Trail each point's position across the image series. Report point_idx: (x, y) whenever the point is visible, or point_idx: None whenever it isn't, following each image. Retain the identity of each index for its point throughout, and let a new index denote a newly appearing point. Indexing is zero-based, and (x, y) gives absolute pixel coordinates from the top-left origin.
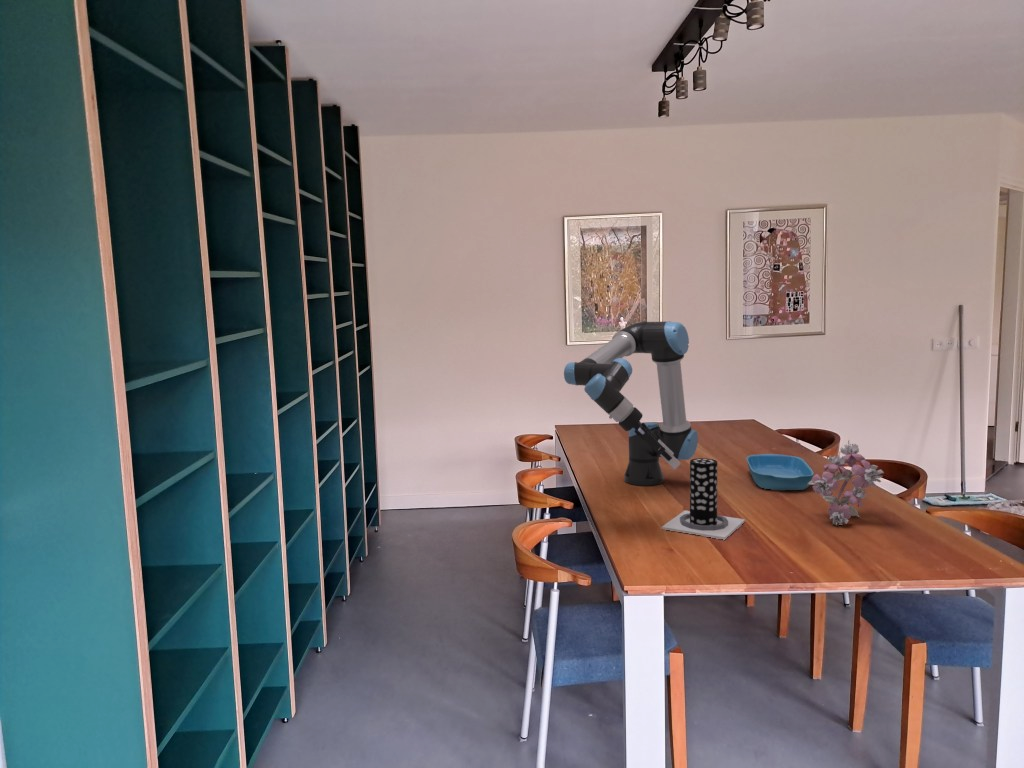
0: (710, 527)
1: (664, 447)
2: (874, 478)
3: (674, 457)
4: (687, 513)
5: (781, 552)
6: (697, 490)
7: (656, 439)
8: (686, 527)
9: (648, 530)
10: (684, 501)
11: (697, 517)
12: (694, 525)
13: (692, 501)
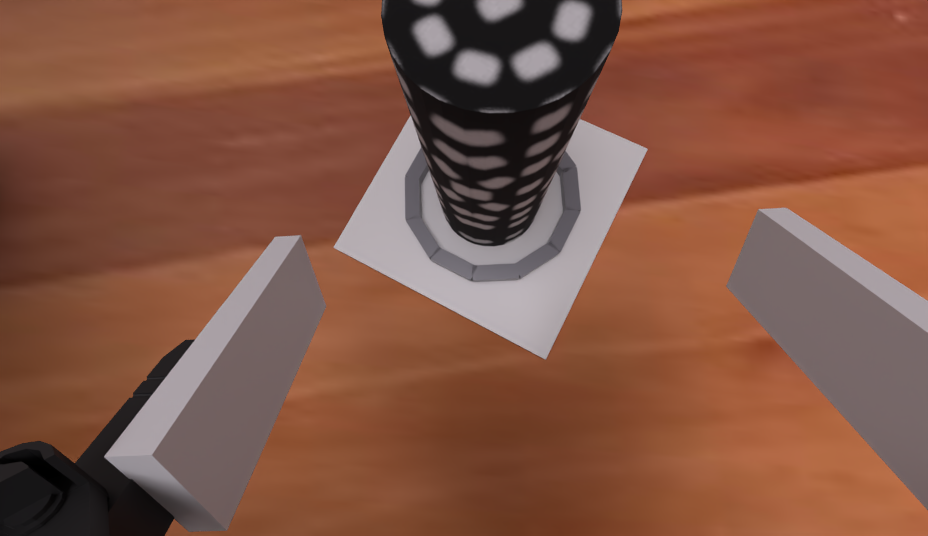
0: (576, 181)
1: (253, 345)
2: None
3: (869, 267)
4: (374, 242)
5: (731, 11)
6: (556, 167)
7: (103, 523)
8: (548, 265)
9: (553, 411)
10: (187, 234)
11: (535, 214)
12: (568, 235)
13: (522, 213)
